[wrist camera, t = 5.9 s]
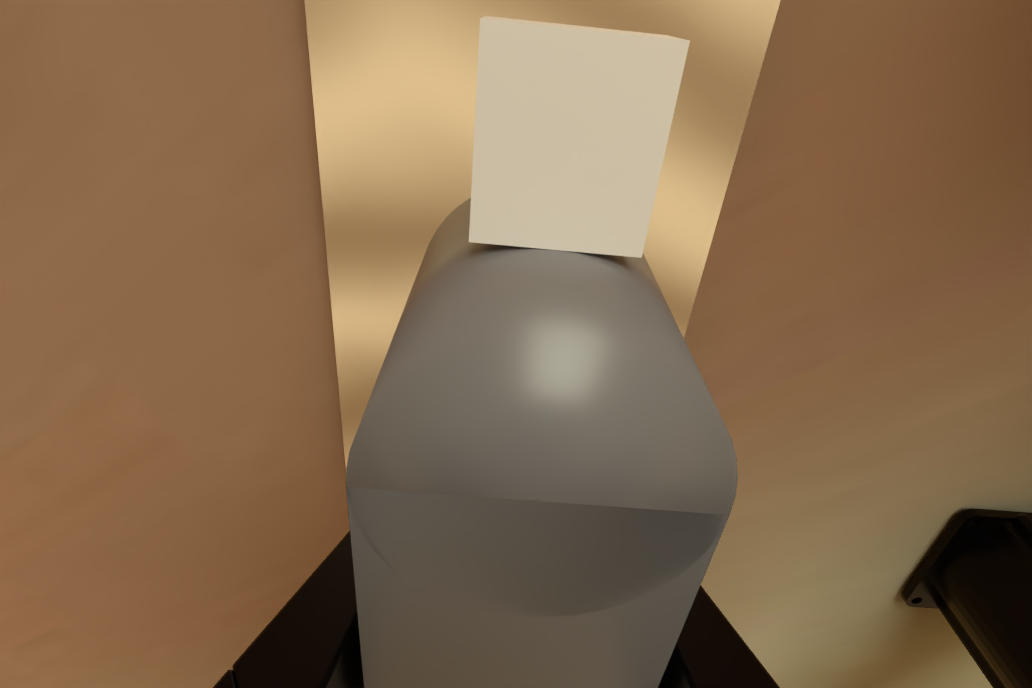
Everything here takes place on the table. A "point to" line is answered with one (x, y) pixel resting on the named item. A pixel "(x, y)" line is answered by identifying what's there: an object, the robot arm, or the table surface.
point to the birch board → (450, 141)
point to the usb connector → (541, 396)
